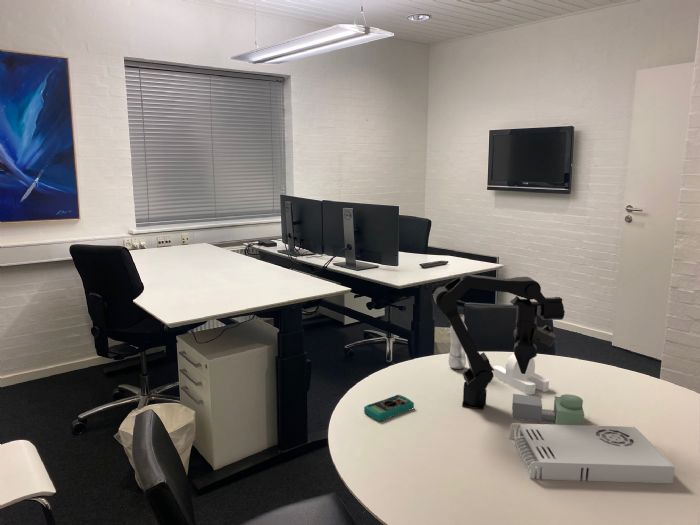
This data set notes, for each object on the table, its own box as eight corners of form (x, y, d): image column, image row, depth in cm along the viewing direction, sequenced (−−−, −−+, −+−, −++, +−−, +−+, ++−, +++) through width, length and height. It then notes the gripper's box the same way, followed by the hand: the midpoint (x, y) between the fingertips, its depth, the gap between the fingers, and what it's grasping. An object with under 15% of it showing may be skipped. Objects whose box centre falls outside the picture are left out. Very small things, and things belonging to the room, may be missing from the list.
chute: (512, 418, 151) (513, 402, 150) (512, 409, 157) (513, 393, 156) (540, 422, 149) (542, 406, 148) (539, 412, 155) (541, 397, 154)
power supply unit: (509, 440, 140) (510, 423, 139) (632, 443, 138) (634, 426, 137) (529, 481, 121) (531, 461, 120) (673, 486, 120) (675, 466, 119)
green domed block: (515, 421, 149) (517, 398, 148) (515, 406, 158) (516, 385, 157) (582, 431, 144) (585, 407, 142) (578, 415, 153) (580, 393, 152)
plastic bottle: (448, 370, 187) (450, 317, 183) (447, 363, 193) (449, 312, 190) (466, 371, 186) (468, 318, 182) (465, 365, 192) (467, 313, 189)
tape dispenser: (511, 371, 187) (513, 343, 185) (549, 390, 171) (552, 360, 169) (490, 376, 183) (492, 347, 181) (528, 396, 167) (530, 364, 165)
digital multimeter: (415, 409, 157) (415, 400, 157) (379, 423, 148) (379, 413, 148) (399, 401, 163) (399, 392, 162) (362, 414, 154) (363, 405, 153)
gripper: (557, 330, 144) (553, 383, 146) (552, 313, 161) (548, 360, 164) (515, 326, 147) (512, 378, 150) (515, 310, 165) (512, 356, 167)
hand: (522, 368), depth 158 cm, fingers open, 9 cm apart
